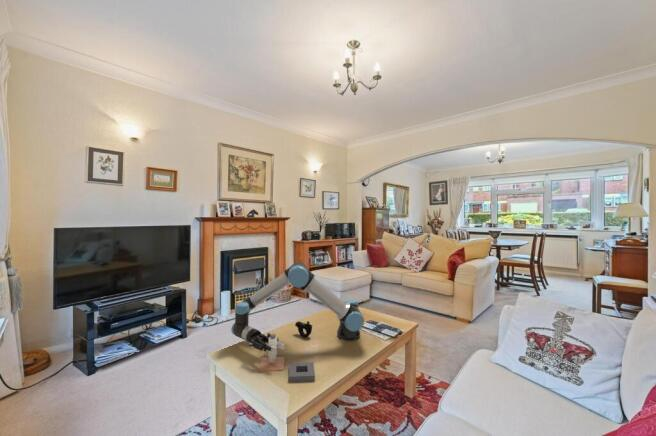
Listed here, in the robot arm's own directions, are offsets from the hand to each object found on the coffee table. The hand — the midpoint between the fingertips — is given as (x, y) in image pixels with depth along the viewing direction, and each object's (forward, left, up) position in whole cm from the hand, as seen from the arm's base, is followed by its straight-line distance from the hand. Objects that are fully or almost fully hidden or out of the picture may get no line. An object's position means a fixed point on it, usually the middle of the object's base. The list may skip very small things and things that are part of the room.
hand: (279, 349), depth 139 cm
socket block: (-11, +6, -10) cm, 16 cm away
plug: (+4, -4, -8) cm, 10 cm away
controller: (-13, -37, -10) cm, 40 cm away
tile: (+4, -4, -10) cm, 11 cm away
